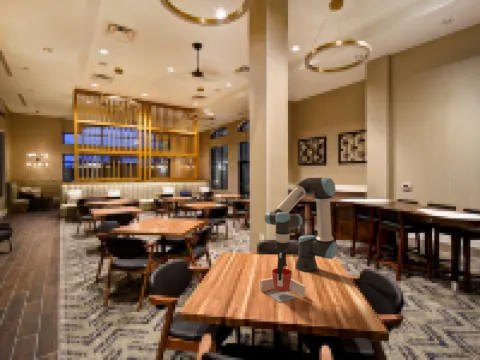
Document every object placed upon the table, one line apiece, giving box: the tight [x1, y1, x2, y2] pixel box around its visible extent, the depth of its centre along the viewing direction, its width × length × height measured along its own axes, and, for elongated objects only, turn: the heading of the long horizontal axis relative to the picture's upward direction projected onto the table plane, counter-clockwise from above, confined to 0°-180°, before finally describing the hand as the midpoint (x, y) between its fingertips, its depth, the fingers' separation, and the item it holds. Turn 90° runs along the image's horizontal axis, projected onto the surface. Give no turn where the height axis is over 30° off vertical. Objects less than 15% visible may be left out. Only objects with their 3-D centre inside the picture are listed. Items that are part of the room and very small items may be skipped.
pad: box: [265, 290, 298, 303], centre depth 141 cm, size 12×12×1 cm
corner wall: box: [259, 277, 306, 298], centre depth 144 cm, size 18×18×6 cm
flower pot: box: [271, 267, 293, 292], centre depth 141 cm, size 11×11×10 cm
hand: (281, 281), depth 141 cm, fingers closed on flower pot, 11 cm apart
